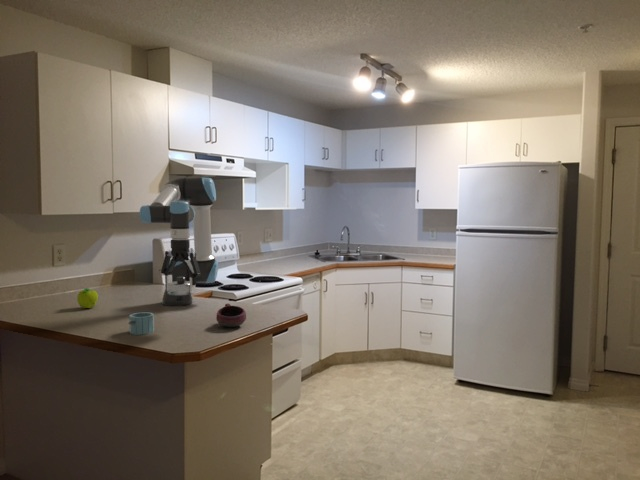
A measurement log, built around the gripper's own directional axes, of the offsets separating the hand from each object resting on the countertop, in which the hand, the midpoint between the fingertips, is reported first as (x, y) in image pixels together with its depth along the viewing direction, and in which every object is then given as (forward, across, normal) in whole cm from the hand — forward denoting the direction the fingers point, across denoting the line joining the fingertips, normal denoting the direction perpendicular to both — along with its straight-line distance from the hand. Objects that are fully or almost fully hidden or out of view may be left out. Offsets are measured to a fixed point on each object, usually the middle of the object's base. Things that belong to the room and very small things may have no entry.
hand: (181, 291), depth 221 cm
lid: (+1, 0, 0) cm, 1 cm away
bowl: (+16, +15, +13) cm, 26 cm away
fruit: (+16, -67, +15) cm, 71 cm away
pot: (+16, -12, -10) cm, 22 cm away
